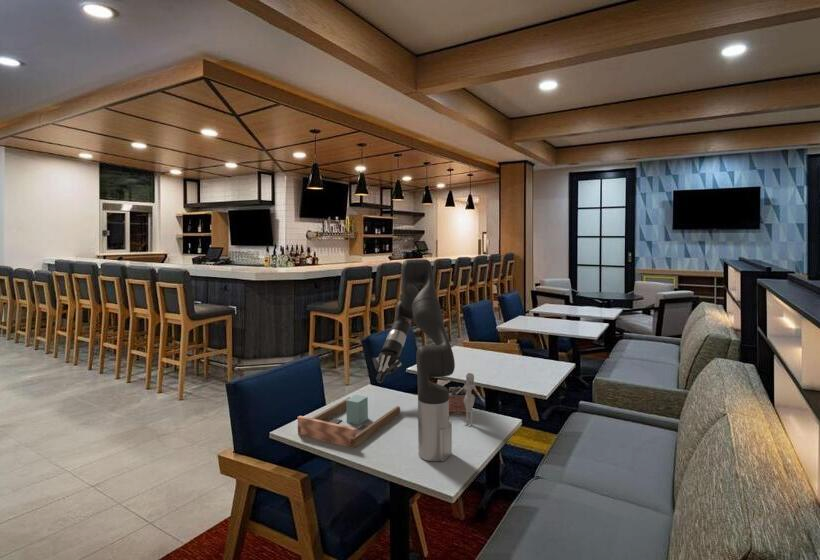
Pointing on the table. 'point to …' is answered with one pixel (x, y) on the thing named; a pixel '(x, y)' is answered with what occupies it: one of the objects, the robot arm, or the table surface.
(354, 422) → the block
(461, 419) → the table surface
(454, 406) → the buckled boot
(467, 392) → the human figurine
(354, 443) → the lane box
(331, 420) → the trap pads
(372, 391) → the table surface
